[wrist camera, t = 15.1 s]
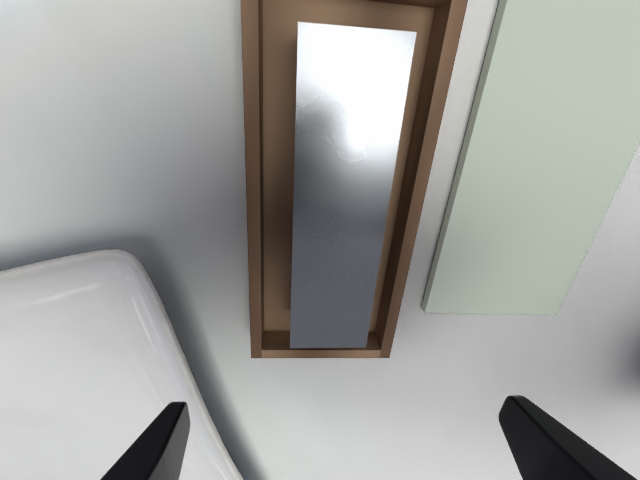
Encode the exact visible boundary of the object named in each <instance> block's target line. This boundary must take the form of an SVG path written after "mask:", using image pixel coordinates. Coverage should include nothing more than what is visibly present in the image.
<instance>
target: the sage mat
mask: <svg viewBox="0 0 640 480" xmlns="http://www.w3.org/2000/svg"><path fill="white" fill-rule="evenodd" d="M639 144H640V0H500V1H499V4H498V8H497V12H496V16H495V20H494V24H493V28H492V32H491V36H490V40H489V44H488V48H487V52H486V55H485V59H484V63H483V67H482V71H481V75H480V79H479V83H478V87H477V91H476V95H475V99H474V103H473V106H472V110H471V114H470V118H469V122H468V126H467V130H466V134H465V138H464V142H463V146H462V150H461V154H460V157H459V161H458V165H457V169H456V173H455V177H454V181H453V185H452V189H451V193H450V197H449V201H448V205H447V208H446V212H445V216H444V220H443V224H442V228H441V232H440V236H439V240H438V244H437V248H436V252H435V255H434V259H433V263H432V267H431V271H430V275H429V279H428V283H427V287H426V291H425V295H424V299H423V303H422V306H421V308H422V310H423V311H424V313H437V314H516V315H557V313H558V311H559V309H560V307H561V305H562V303H563V301H564V299H565V296H566V294H567V292H568V290H569V288H570V286H571V284H572V282H573V280H574V278H575V276H576V274H577V272H578V270H579V268H580V266H581V264H582V261H583V259H584V257H585V255H586V253H587V251H588V249H589V247H590V245H591V243H592V241H593V239H594V237H595V235H596V233H597V231H598V228H599V226H600V224H601V222H602V220H603V218H604V216H605V214H606V212H607V210H608V208H609V206H610V204H611V202H612V200H613V198H614V195H615V193H616V191H617V189H618V187H619V185H620V183H621V181H622V179H623V177H624V175H625V173H626V171H627V169H628V167H629V165H630V162H631V160H632V158H633V156H634V154H635V152H636V150H637V148H638V146H639Z"/></svg>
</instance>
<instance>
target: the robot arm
mask: <svg viewBox="0 0 640 480" xmlns="http://www.w3.org/2000/svg"><path fill="white" fill-rule="evenodd" d="M499 422H500V425H501V427H502V430H503V432H504V435H505V437H506V440H507V442H508V444H509V447H510V449H511V452H512V454H513V457H514V459H515V462H516V464H517V467H518V469H519V471H520V474H521V476H522V478H523V480H637V479H636V478H634V477H633V476H632V475H630V474H629V473H627V472H626V471H625V470H623V469H622V468H621V467H619V466H618V465H617V464H615V463H614V462H613V461H611V460H610V459H608V458H607V457H606V456H604V455H603V454H602V453H600V452H599V451H598V450H596V449H595V448H594V447H592V446H591V445H589V444H588V443H587V442H585V441H584V440H583V439H581V438H580V437H579V436H577V435H576V434H575V433H573V432H572V431H570V430H569V429H568V428H566V427H565V426H564V425H562V424H561V423H560V422H558V421H557V420H556V419H554V418H553V417H551V416H550V415H549V414H547V413H546V412H545V411H543V410H542V409H541V408H539V407H538V406H537V405H535V404H534V403H532V402H531V401H530V400H528V399H527V398H525V397H524V396H520V395H515V396H508V397H507V398H506V399H505V402H504V404H503V406H502V408H501V410H500V412H499ZM189 431H190V416H189V410H188V405H187V403H186V402H184V401H182V402H171V403H169V404H168V405H167V406H166V407H165V408H164V409H163V410H162V411H161V413H160V414H159V415H158V416H157V417H156V418H155V419H154V420H153V421H152V423H151V424H150V425H149V426H148V427H147V428H146V429H145V430H144V431H143V433H142V434H141V435H140V436H139V437H138V438H137V439H136V440H135V441H134V443H133V444H132V445H131V446H130V447H129V448H128V449H127V450H126V451H125V453H124V454H123V455H122V456H121V457H120V458H119V459H118V460H117V461H116V463H115V464H114V465H113V466H112V467H111V468H110V469H109V470H108V471H107V473H106V474H105V475H104V476H103V477H102V478H101V479H100V480H179V476H180V472H181V467H182V463H183V458H184V454H185V449H186V445H187V441H188V436H189Z"/></svg>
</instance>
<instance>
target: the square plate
mask: <svg viewBox="0 0 640 480" xmlns="http://www.w3.org/2000/svg"><path fill="white" fill-rule="evenodd" d="M182 401H184V402H186V403H187V405H188V410H189V416H190V431H189V436H188V441H187V445H186V449H185V454H184V458H183V463H182V467H181V472H180V476H179V480H244V479H243V478H242V476H241V474H240V473H239V471H238V470H237V467H236V466H235V464H234V463H233V461H232V459H231V457H230V456H229V454H228V451H227V450H226V448H225V446H224V444H223V442H222V439H221V437H220V435H219V433H218V431H217V429H216V427H215V425H214V423H213V421H212V419H211V416H210V414H209V412H208V410H207V408H206V405H205V403H204V401H203V399H202V396H201V394H200V392H199V389H198V387H197V384H196V382H195V380H194V377H193V375H192V373H191V370H190V368H189V365H188V362H187V360H186V357H185V355H184V353H183V352H182V349H181V347H180V344H179V341H178V339H177V337H176V335H175V332H174V330H173V327H172V325H171V322H170V320H169V317H168V315H167V313H166V311H165V308H164V306H163V303H162V301H161V299H160V297H159V295H158V293H157V291H156V289H155V287H154V285H153V283H152V281H151V279H150V277H149V275H148V274H147V272H146V270H145V268H144V267H143V265H142V264H141V262H140V261H139V260H138V259H137V258H136V257H135V256H134V255H133V254H132V253H130V252H127V251H124V250H120V249H110V250H98V251H92V252H86V253H80V254H75V255H70V256H65V257H60V258H55V259H50V260H46V261H41V262H37V263H33V264H29V265H24V266H20V267H16V268H12V269H8V270H4V271H0V480H100V479H101V478H102V477H103V476H104V475H105V474H106V473H107V471H108V470H109V469H110V468H111V467H112V466H113V465H114V464H115V463H116V461H117V460H118V459H119V458H120V457H121V456H122V455H123V454H124V453H125V451H126V450H127V449H128V448H129V447H130V446H131V445H132V444H133V443H134V441H135V440H136V439H137V438H138V437H139V436H140V435H141V434H142V433H143V431H144V430H145V429H146V428H147V427H148V426H149V425H150V424H151V423H152V421H153V420H154V419H155V418H156V417H157V416H158V415H159V414H160V413H161V411H162V410H163V409H164V408H165V407H166V406H167V405H168V404H169V403H171V402H182Z"/></svg>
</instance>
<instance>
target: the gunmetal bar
mask: <svg viewBox="0 0 640 480" xmlns="http://www.w3.org/2000/svg"><path fill="white" fill-rule="evenodd" d="M416 33H417V32H409V31H397V30H386V29H375V28H363V27H352V26H340V25H329V24H318V23H306V22H298V37H297V77H296V117H295V157H294V198H293V238H292V278H291V318H290V348H366V344H367V338H368V332H369V326H370V320H371V313H372V307H373V301H374V295H375V288H376V282H377V276H378V270H379V263H380V257H381V251H382V245H383V238H384V232H385V226H386V220H387V214H388V207H389V201H390V195H391V189H392V182H393V176H394V170H395V164H396V157H397V151H398V145H399V139H400V133H401V126H402V120H403V114H404V108H405V101H406V95H407V89H408V83H409V76H410V70H411V64H412V58H413V52H414V45H415V39H416Z"/></svg>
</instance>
